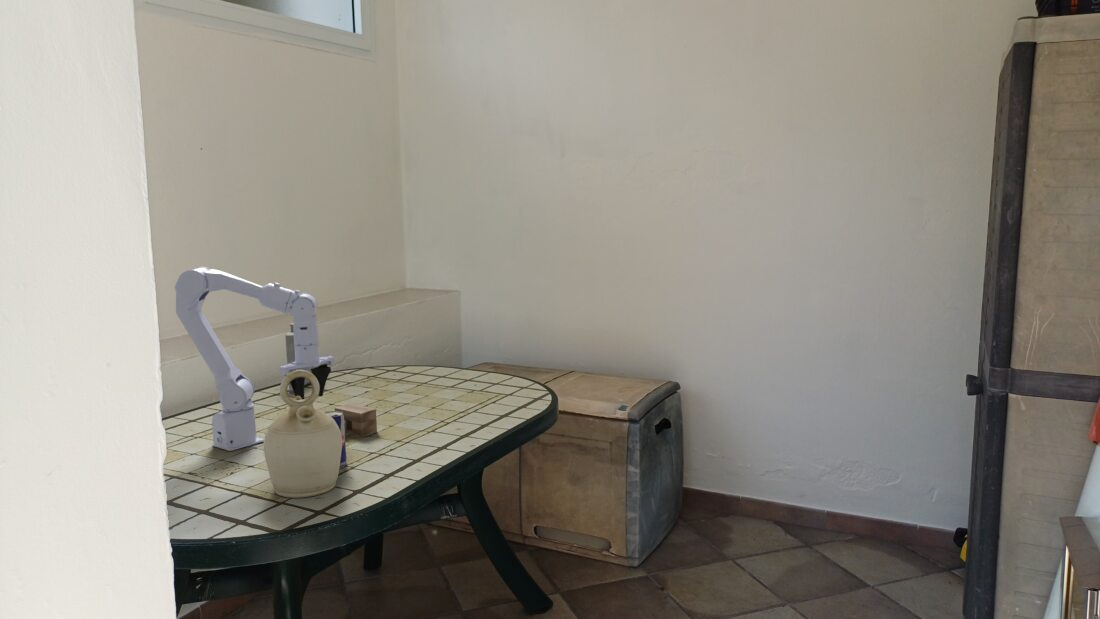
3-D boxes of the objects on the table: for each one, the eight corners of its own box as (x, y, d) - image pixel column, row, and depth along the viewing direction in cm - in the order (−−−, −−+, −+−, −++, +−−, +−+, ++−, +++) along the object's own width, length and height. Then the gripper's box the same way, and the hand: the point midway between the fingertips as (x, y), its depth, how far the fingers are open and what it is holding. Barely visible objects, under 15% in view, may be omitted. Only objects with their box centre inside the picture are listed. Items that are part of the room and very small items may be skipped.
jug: (337, 499, 165) (330, 376, 161) (258, 503, 164) (249, 379, 160) (349, 473, 180) (343, 360, 176) (276, 476, 179) (269, 363, 175)
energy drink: (333, 471, 181) (330, 418, 180) (316, 467, 184) (313, 415, 182) (351, 464, 186) (348, 412, 184) (334, 460, 189) (331, 409, 187)
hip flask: (297, 391, 255) (293, 327, 252) (284, 391, 255) (280, 327, 252) (315, 379, 270) (311, 318, 268) (302, 379, 271) (299, 319, 268)
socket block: (361, 437, 206) (360, 413, 205) (335, 430, 212) (334, 407, 211) (377, 432, 210) (375, 409, 209) (351, 425, 216) (350, 403, 215)
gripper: (291, 350, 194) (294, 407, 196) (340, 340, 205) (343, 394, 207) (273, 347, 198) (276, 402, 200) (322, 337, 209) (326, 390, 211)
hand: (309, 398), depth 204 cm, fingers open, 5 cm apart
